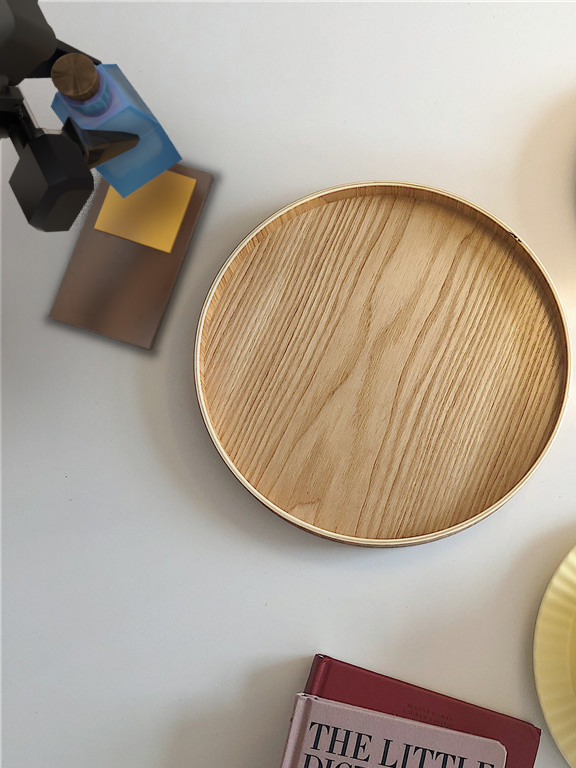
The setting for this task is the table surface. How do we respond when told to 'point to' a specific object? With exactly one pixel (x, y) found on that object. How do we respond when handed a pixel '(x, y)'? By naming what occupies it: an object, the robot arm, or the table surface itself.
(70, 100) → the perfume bottle
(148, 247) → the stand
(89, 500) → the table surface
